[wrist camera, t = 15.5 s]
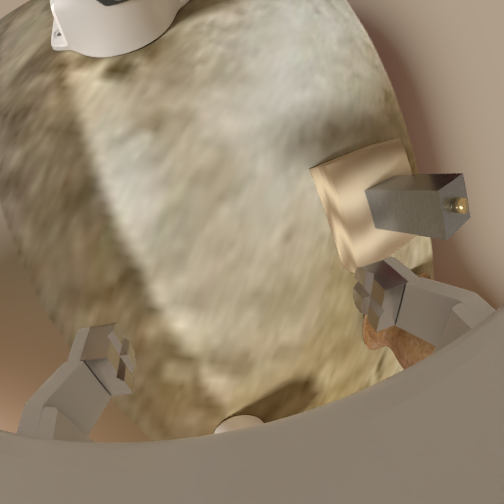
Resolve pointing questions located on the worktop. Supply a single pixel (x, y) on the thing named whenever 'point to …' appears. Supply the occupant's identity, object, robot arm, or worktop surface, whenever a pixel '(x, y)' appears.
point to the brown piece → (398, 341)
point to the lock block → (420, 204)
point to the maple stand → (360, 201)
